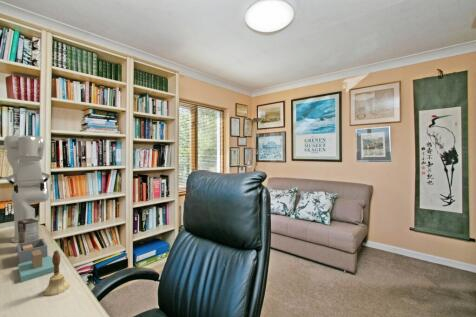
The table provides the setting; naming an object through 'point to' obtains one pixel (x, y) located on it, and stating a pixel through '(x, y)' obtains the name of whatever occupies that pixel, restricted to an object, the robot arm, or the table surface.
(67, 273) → the table surface
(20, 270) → the lid
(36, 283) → the table surface
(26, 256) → the box
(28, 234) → the coffee box
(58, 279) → the hand bell
